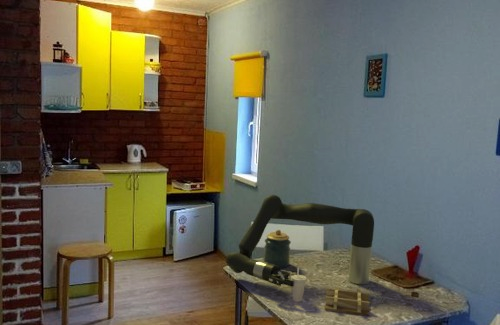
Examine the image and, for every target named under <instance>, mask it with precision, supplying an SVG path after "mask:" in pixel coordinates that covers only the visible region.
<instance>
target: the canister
mask: <svg viewBox="0 0 500 325" xmlns="http://www.w3.org/2000/svg"><path fill="white" fill-rule="evenodd" d="M264 242H265V245H264V246H263V247H264V252H263V253H264V254H263V262H267V263H270V264H274V265H277V266H278V267H279V268H280V269H284V268H285V269H286V268H287V267H289V264H290V256H291V248H290V244H291V240H290V236H289V235H288V234H286V233H284V232H281V230H280V229H276V230H275V231H274V232H270V233H268V234H267V235H266V238H265V239H264Z"/></svg>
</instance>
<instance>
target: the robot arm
mask: <svg viewBox="0 0 500 325" xmlns="http://www.w3.org/2000/svg"><path fill="white" fill-rule="evenodd" d="M272 219H274V220H290V221H291V220H292V221H297V222H305V223H310V224H318V225H335V224H341V225H343V224H345V225H348V226H352V231H351V232H352V234H351V242H350V243H351V244H350V252H349V253H350V256H349V266H348V267H349V270H348V281H349V282H350V283H352V284H356V285H367V284H369V282H370V273H371V260H372V259H371V258H372V248H373V240H374V230H375V218H374V215H373V214H372V212H371V211H370V210H368V209H364V208H345V207H339V206H334V205H327V204H322V203H321V204H320V203H314V202H313V203H312V202H309V203H301V204H287V203H283V202H282V199H281V198H280V196H278V195H276V194H270V195H267V196H266V197H265V198H264V199H263V202H262V204H261V206H260V209H259V211H258V213H257V214H256V216H255V219H254V220H253V222H252V223H251V225H250V227H249V229H247V232H246V233H245V235H244V236H243V238H242V239H241V241H240V242H239V244H238V250H239V252H236V251H235V252H234V251H233V252H230V253H229V254H227V255H226V257H225V262H226V264H227V266H228V267H229V268H230V269H231V270H232V271H233V272H234V273H236V274H241V273H245V274H246V275H248V276H251V277H255V278H257V279H259V280H262V281H266V282H268V283H271V284H273V285H276V286H278V287H280V286H288V287H290V288H292V287H293V286H294V281H292V280H291V276H292V275H297V270H294V269H290V268H287V267H285V269H281V268H279V267H278V266H277V265H274V264H270V263H267V262H264V260H262V261H261V260H257V259H254V258H251V257H252V253H253V252H254V251H255V249H256V247H257V246H258V244H259V242H260V240H261V239H262V236H263V234H264V232H265V229H266V227H267V225H268V224H269V222H270V221H271V220H272ZM299 275H301V274H299Z"/></svg>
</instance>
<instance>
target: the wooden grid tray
mask: <svg viewBox="0 0 500 325" xmlns="http://www.w3.org/2000/svg"><path fill="white" fill-rule="evenodd" d="M369 296H370V293H369V292H364V291H362V290H361V289H360V288H357V291H355V290H350V289H349V290H347V289H341V288H340V289H339V286H338V285H336V286H334V287H333V288H331V287H327V288H326V296H325V306H324V311H326V312H327V311H328V312H336V313H344V314H351V315H357V316H363V317H364V316H366V317H370V303H371V302H370V301H369V299H370V298H369Z"/></svg>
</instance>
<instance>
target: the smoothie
mask: <svg viewBox="0 0 500 325" xmlns="http://www.w3.org/2000/svg"><path fill="white" fill-rule="evenodd" d="M296 271H297V275H292V276H291V281H294V286H293V287H291V288H292V289H291V290H292V291H291V292H292V301H293V302H295V303H301V302H302V301H303V297H304V291H305V287H306V286H305V285H306V282H307V281H308V280H307V279H308V278H307V276H305V275H303V274H300V275H299V272H300V266H297V270H296Z"/></svg>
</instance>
